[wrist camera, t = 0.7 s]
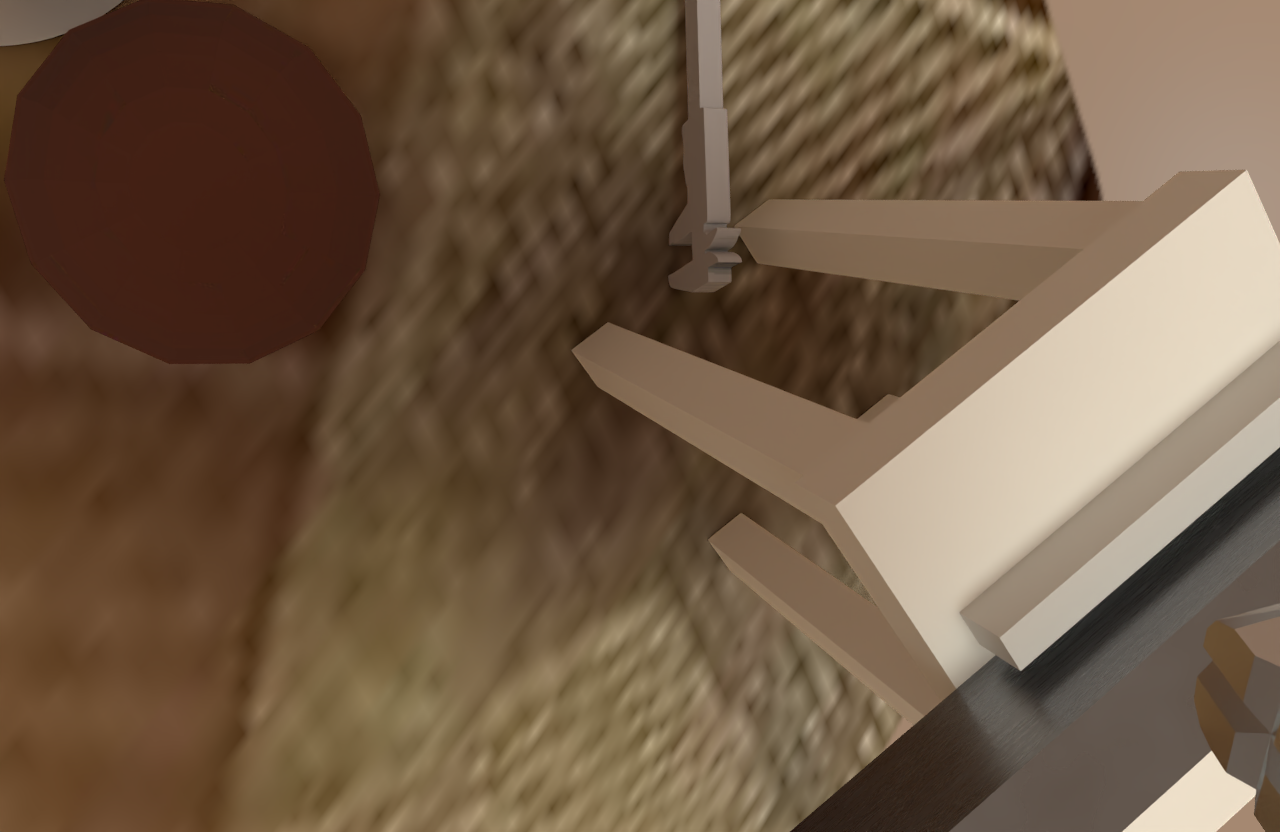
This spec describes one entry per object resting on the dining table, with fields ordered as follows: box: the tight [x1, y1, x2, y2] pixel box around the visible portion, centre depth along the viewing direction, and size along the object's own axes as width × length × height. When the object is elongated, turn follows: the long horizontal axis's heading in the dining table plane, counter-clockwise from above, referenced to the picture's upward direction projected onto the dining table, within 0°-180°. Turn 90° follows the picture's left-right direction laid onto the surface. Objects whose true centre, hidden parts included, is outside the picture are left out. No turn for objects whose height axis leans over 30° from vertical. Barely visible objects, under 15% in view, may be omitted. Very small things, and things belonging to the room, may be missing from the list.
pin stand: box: [571, 170, 1280, 832], centre depth 38 cm, size 14×12×28 cm
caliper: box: [668, 0, 742, 292], centre depth 44 cm, size 20×1×6 cm, turn 178°
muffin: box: [4, 0, 380, 364], centre depth 38 cm, size 12×11×10 cm
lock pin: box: [790, 447, 1280, 832], centre depth 25 cm, size 3×24×3 cm, turn 125°
